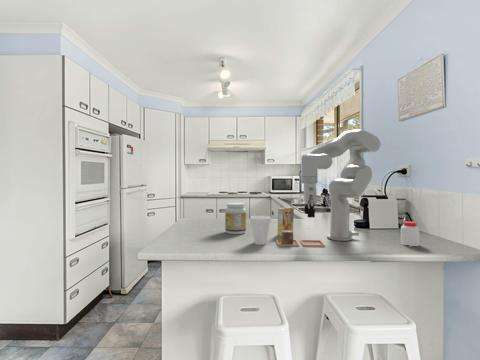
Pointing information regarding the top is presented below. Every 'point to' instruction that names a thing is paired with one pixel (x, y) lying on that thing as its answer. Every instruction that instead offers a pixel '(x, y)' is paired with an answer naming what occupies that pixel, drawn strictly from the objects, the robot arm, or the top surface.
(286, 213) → the candy box
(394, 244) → the top surface
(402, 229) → the pill bottle
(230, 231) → the supplement tub
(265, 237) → the cup
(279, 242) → the dish middle
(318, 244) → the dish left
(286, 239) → the letter block
